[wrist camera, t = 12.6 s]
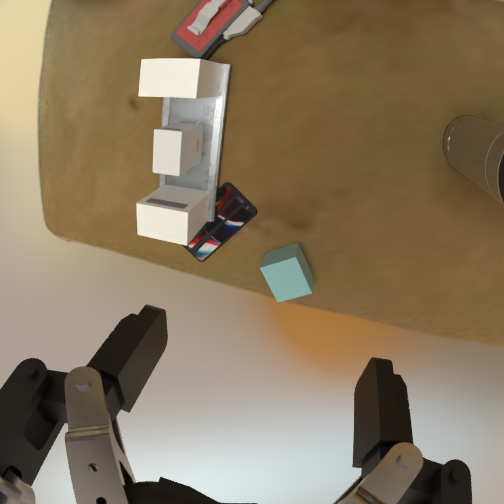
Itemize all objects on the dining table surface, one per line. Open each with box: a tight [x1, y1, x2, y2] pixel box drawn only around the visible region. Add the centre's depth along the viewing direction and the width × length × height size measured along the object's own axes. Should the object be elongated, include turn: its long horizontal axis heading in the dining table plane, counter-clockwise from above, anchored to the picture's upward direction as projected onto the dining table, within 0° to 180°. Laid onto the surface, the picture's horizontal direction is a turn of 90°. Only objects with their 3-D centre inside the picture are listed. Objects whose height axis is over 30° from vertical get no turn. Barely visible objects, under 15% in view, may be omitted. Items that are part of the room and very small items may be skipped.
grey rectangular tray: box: [159, 64, 232, 222], centre depth 46 cm, size 10×25×2 cm, turn 173°
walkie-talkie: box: [171, 0, 273, 60], centre depth 34 cm, size 9×4×20 cm
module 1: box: [139, 58, 222, 99], centre depth 37 cm, size 8×5×9 cm, turn 83°
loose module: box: [153, 122, 204, 176], centre depth 42 cm, size 4×6×8 cm
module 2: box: [137, 184, 209, 246], centre depth 47 cm, size 8×5×9 cm, turn 83°
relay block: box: [260, 242, 313, 302], centre depth 52 cm, size 5×6×7 cm
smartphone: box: [181, 182, 257, 262], centre depth 53 cm, size 7×1×15 cm
